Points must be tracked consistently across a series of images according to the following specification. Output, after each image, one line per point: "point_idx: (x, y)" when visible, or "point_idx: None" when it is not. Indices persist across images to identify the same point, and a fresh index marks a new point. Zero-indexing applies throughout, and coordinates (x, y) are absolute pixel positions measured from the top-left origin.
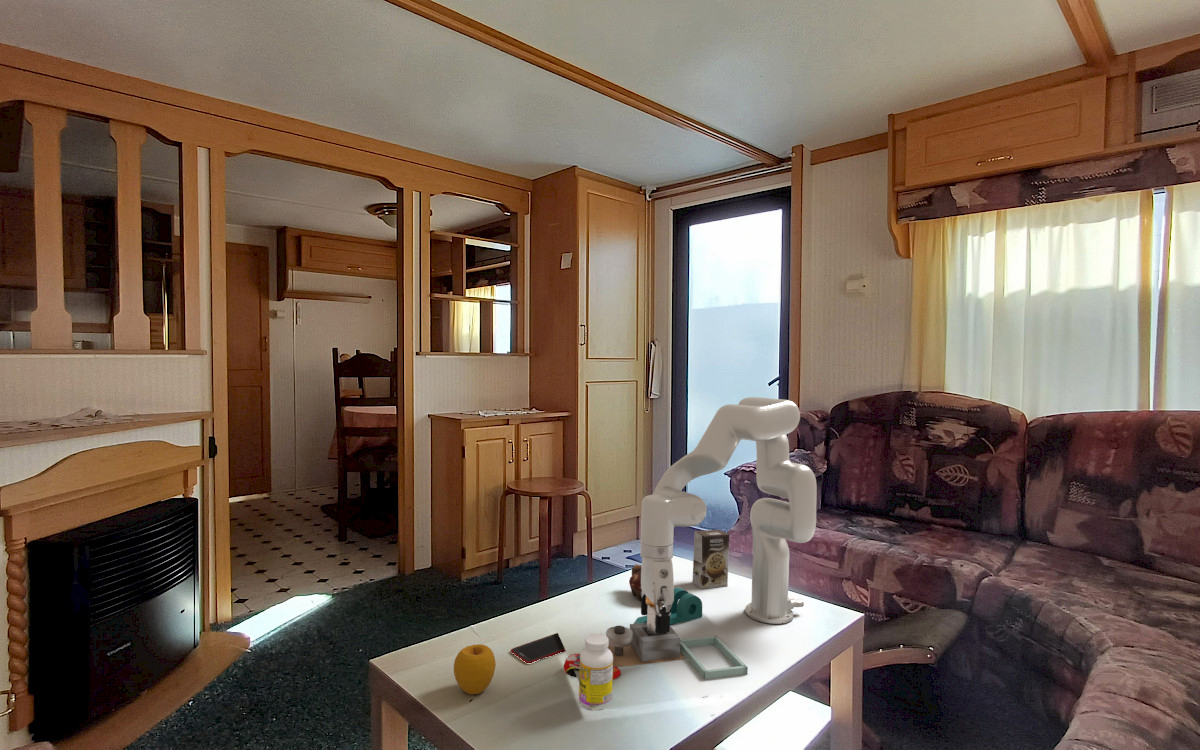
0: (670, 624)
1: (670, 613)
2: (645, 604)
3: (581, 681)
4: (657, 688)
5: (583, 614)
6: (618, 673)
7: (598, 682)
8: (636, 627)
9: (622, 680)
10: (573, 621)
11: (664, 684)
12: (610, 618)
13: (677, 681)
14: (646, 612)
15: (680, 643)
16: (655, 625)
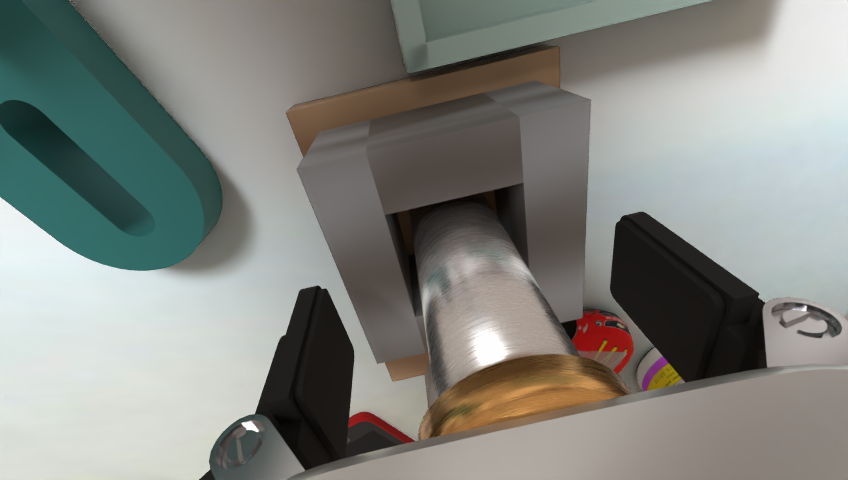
0: (85, 60)
1: (838, 317)
2: (341, 405)
3: None
4: (679, 203)
5: (97, 417)
6: (619, 336)
7: None
8: (416, 338)
9: (593, 303)
10: (178, 434)
11: (665, 174)
12: (86, 339)
13: (664, 116)
14: (342, 342)
15: (458, 61)
16: (642, 326)
